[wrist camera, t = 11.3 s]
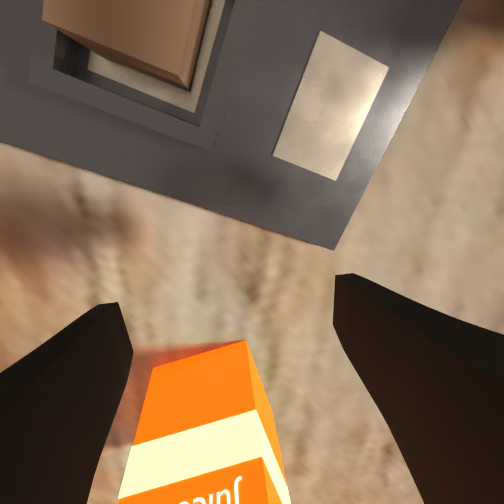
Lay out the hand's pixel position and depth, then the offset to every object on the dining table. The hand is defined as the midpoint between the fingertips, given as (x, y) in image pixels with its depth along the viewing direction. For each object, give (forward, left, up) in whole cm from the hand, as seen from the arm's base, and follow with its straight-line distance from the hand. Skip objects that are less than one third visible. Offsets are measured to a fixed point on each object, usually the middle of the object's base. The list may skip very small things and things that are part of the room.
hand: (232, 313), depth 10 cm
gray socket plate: (+4, -8, -9) cm, 13 cm away
